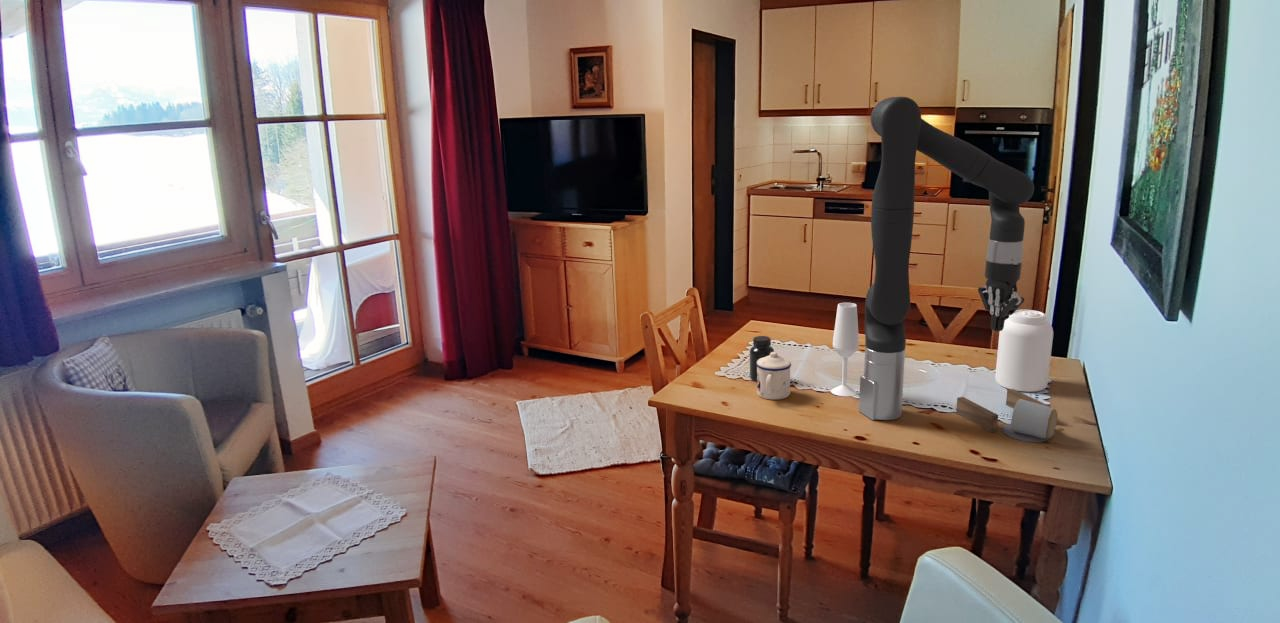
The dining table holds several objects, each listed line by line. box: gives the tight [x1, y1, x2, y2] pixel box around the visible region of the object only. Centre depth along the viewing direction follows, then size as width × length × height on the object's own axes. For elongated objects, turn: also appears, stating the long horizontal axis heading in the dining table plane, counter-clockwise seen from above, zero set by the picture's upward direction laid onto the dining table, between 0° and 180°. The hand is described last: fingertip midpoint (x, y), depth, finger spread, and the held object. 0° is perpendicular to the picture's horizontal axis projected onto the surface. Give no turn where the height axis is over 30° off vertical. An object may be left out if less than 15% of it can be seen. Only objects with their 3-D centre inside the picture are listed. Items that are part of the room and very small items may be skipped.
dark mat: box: [1001, 423, 1051, 443], centre depth 170 cm, size 10×10×1 cm
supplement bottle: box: [749, 335, 775, 383], centre depth 209 cm, size 7×7×12 cm
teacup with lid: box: [756, 351, 792, 401], centre depth 196 cm, size 12×9×12 cm
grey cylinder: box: [1010, 399, 1059, 440], centre depth 169 cm, size 11×8×8 cm
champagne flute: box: [830, 302, 860, 397], centre depth 195 cm, size 7×7×24 cm
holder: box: [955, 389, 1051, 433], centre depth 178 cm, size 16×12×4 cm
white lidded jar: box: [994, 308, 1054, 393], centre depth 196 cm, size 12×12×20 cm
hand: (996, 330), depth 177 cm, fingers closed
